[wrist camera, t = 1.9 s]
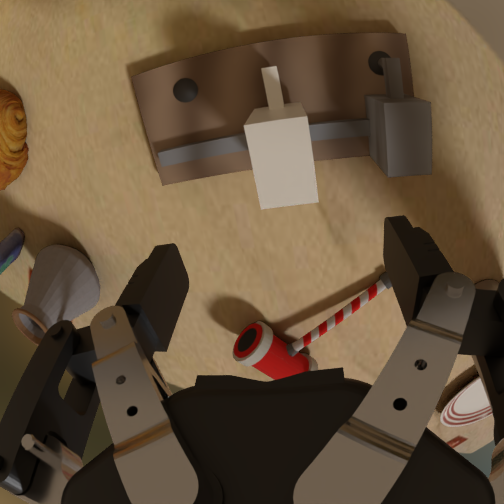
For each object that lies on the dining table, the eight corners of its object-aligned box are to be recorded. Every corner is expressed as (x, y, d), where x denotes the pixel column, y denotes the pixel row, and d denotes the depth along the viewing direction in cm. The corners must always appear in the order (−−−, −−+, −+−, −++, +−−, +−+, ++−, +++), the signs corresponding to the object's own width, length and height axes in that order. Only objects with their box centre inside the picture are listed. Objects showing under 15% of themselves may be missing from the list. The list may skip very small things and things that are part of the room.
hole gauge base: (400, 34, 22) (433, 29, 16) (410, 148, 28) (441, 173, 22) (137, 75, 26) (99, 82, 20) (167, 180, 33) (140, 211, 27)
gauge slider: (293, 63, 23) (297, 62, 16) (309, 163, 29) (318, 202, 21) (247, 70, 24) (232, 73, 17) (267, 168, 29) (261, 209, 22)
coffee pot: (50, 284, 44) (3, 349, 32) (42, 226, 38) (-22, 292, 25) (167, 326, 46) (136, 410, 34) (175, 269, 40) (135, 363, 27)
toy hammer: (364, 242, 35) (376, 276, 30) (409, 296, 39) (422, 329, 34) (234, 332, 46) (228, 367, 40) (287, 367, 50) (286, 399, 44)
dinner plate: (461, 362, 47) (466, 376, 44) (550, 337, 43) (556, 348, 40) (423, 424, 62) (425, 435, 59) (504, 402, 58) (507, 411, 55)
